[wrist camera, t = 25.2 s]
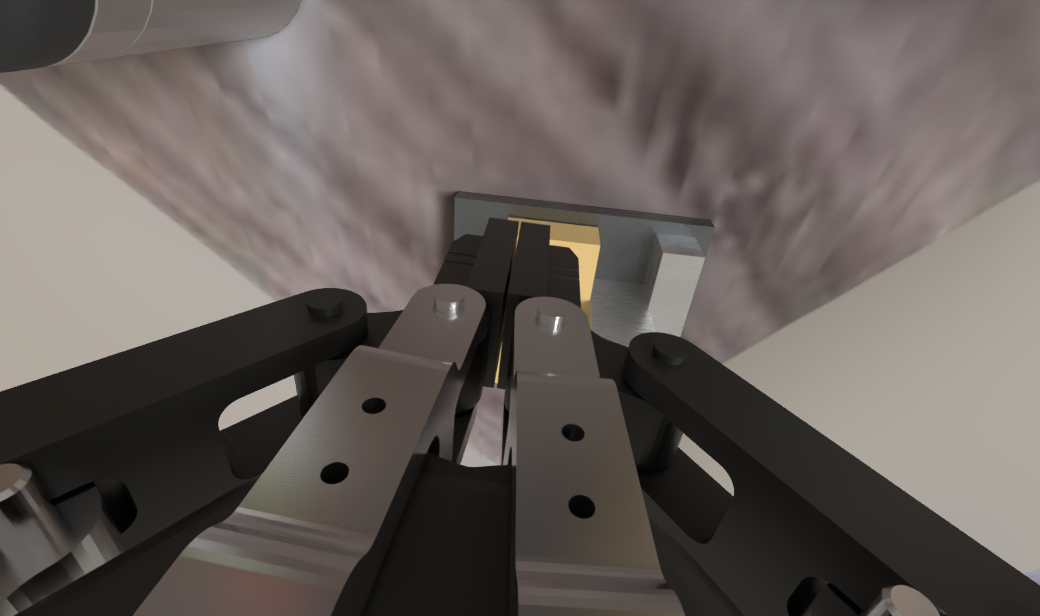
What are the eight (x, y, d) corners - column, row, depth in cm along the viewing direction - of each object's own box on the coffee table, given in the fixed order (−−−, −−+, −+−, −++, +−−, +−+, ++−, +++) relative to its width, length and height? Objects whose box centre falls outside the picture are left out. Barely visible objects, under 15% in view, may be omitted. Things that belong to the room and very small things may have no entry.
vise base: (454, 351, 48) (443, 385, 44) (458, 191, 40) (445, 214, 36) (661, 376, 48) (670, 413, 44) (710, 219, 39) (727, 246, 35)
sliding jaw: (496, 359, 46) (492, 382, 43) (508, 217, 39) (503, 234, 36) (572, 368, 46) (572, 392, 43) (598, 227, 39) (600, 245, 36)
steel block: (580, 323, 44) (582, 392, 36) (588, 278, 41) (592, 342, 34) (631, 329, 44) (644, 400, 36) (642, 284, 41) (659, 350, 33)
